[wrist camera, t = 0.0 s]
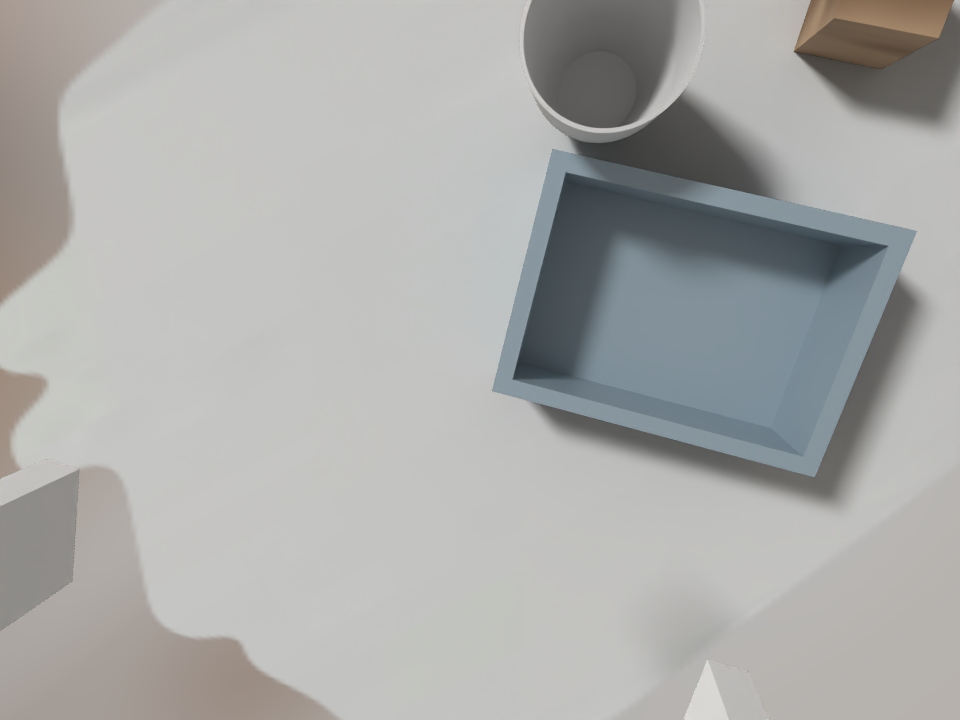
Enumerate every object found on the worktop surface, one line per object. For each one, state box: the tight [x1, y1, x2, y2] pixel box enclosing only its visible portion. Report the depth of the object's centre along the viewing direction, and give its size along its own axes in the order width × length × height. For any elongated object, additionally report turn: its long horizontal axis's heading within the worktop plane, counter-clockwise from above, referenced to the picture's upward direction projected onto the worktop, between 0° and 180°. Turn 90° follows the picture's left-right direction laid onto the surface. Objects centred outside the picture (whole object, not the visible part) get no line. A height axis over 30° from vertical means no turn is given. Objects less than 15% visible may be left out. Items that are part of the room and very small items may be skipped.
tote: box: [492, 149, 917, 477], centre depth 33 cm, size 14×19×6 cm
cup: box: [519, 0, 706, 143], centre depth 29 cm, size 8×8×10 cm
